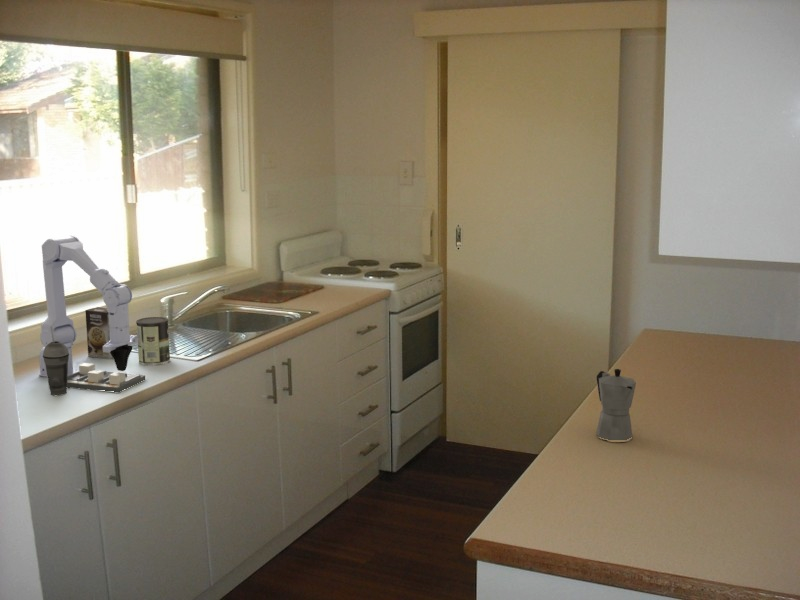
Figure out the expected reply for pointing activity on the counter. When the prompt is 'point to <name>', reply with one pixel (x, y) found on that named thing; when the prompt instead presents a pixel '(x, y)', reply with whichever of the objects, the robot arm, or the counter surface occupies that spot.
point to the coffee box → (97, 332)
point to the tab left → (86, 368)
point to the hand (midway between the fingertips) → (121, 370)
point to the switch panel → (102, 382)
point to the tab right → (116, 378)
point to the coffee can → (153, 341)
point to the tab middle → (95, 376)
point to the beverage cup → (56, 366)
